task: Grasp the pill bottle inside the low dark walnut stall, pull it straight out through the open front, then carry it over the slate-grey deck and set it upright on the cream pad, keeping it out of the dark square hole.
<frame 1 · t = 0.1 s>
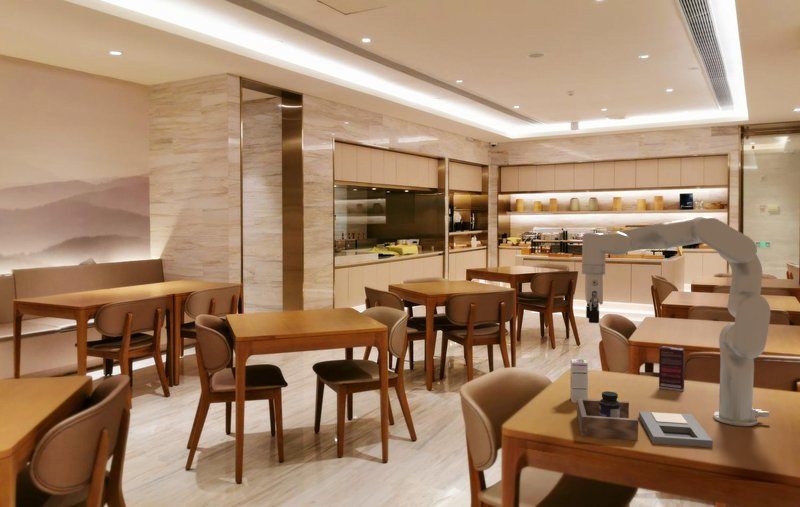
hand: (592, 320, 207), 31 cm above the table, tool pointing down, fingers open, 9 cm apart
walnut stall: (605, 427, 193), on the table
supplement box: (671, 389, 237), on the table
pill bottle: (608, 428, 193), on the table
hole deck: (673, 431, 190), on the table
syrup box: (578, 401, 222), on the table
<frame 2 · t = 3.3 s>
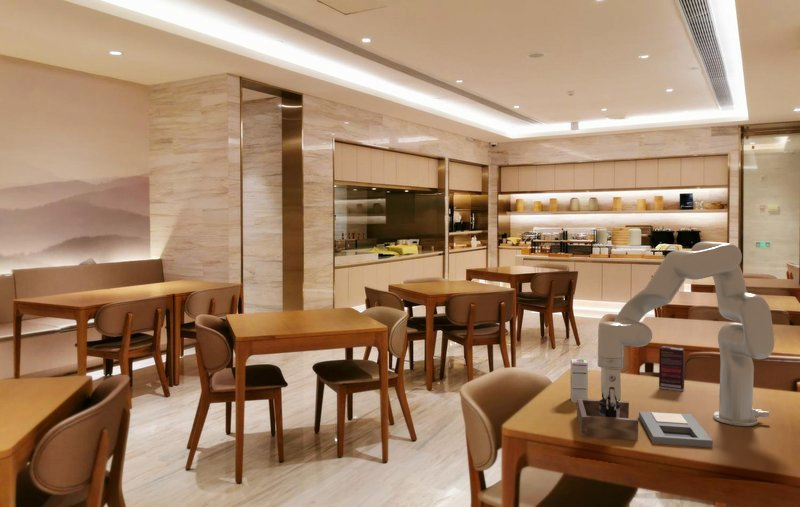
hand: (609, 418, 193), 3 cm above the table, tool pointing down, fingers closed on pill bottle, 6 cm apart
pill bottle: (608, 428, 193), on the table, touching gripper
everything else where it was.
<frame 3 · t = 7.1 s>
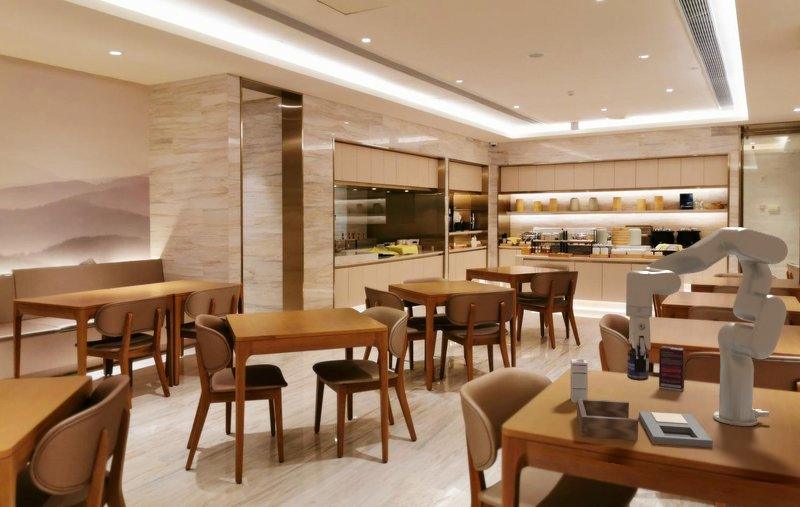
hand: (638, 368, 190), 19 cm above the table, tool pointing down, fingers closed on pill bottle, 6 cm apart
pill bottle: (637, 379, 190), point 16 cm above the table, touching gripper
everything else where it was.
when the fingers open (6 cm above the table, at t = 10.9 s): pill bottle drops 1 cm, resting on hole deck.
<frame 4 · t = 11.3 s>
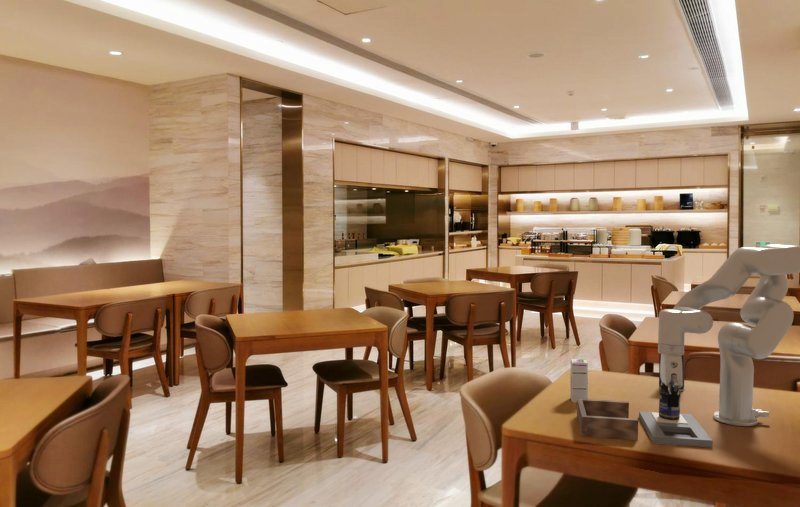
hand: (669, 402, 195), 7 cm above the table, tool pointing down, fingers open, 9 cm apart
pill bottle: (669, 417, 196), point 2 cm above the table, touching hole deck
everything else where it was.
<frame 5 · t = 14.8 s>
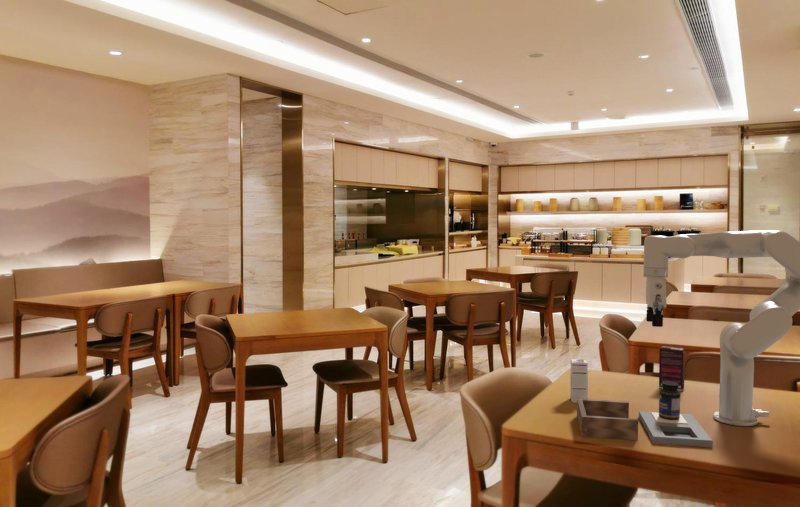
hand: (654, 323, 205), 30 cm above the table, tool pointing down, fingers open, 9 cm apart
nothing on the table moved.
at the end: pill bottle inside the target area on the hole deck (0.3 cm from its centre), point 2.1 cm above the hole deck's base; pill bottle tilted 0°; the gripper is holding nothing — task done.
